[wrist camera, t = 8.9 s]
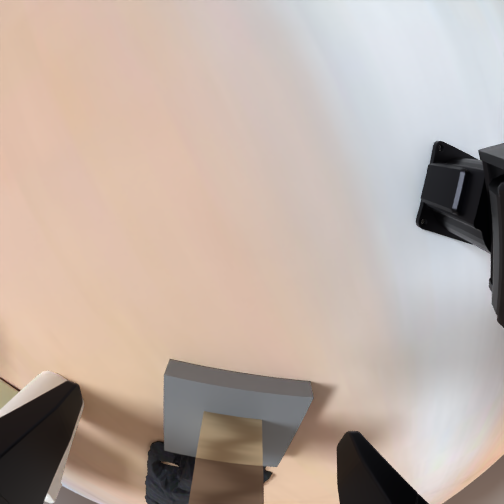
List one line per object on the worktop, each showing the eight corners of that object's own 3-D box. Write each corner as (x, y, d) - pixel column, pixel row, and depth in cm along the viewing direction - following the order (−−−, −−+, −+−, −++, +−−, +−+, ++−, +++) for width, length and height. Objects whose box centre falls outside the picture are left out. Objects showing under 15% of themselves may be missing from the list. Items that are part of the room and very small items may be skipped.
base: (310, 381, 24) (313, 397, 22) (276, 453, 27) (277, 466, 26) (169, 359, 23) (164, 374, 21) (167, 436, 27) (164, 450, 25)
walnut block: (263, 466, 18) (263, 521, 13) (250, 490, 20) (249, 536, 15) (196, 457, 18) (187, 512, 13) (193, 482, 19) (185, 529, 15)
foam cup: (97, 429, 27) (62, 512, 15) (36, 398, 27) (-9, 468, 14) (94, 381, 25) (39, 481, 12) (24, 346, 24) (-41, 422, 11)
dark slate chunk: (134, 488, 34) (128, 510, 29) (156, 430, 27) (146, 462, 23) (221, 512, 36) (220, 533, 31) (281, 463, 29) (283, 494, 25)
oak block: (262, 419, 23) (262, 466, 18) (250, 448, 24) (250, 490, 20) (203, 411, 22) (195, 457, 18) (199, 441, 24) (192, 482, 19)
